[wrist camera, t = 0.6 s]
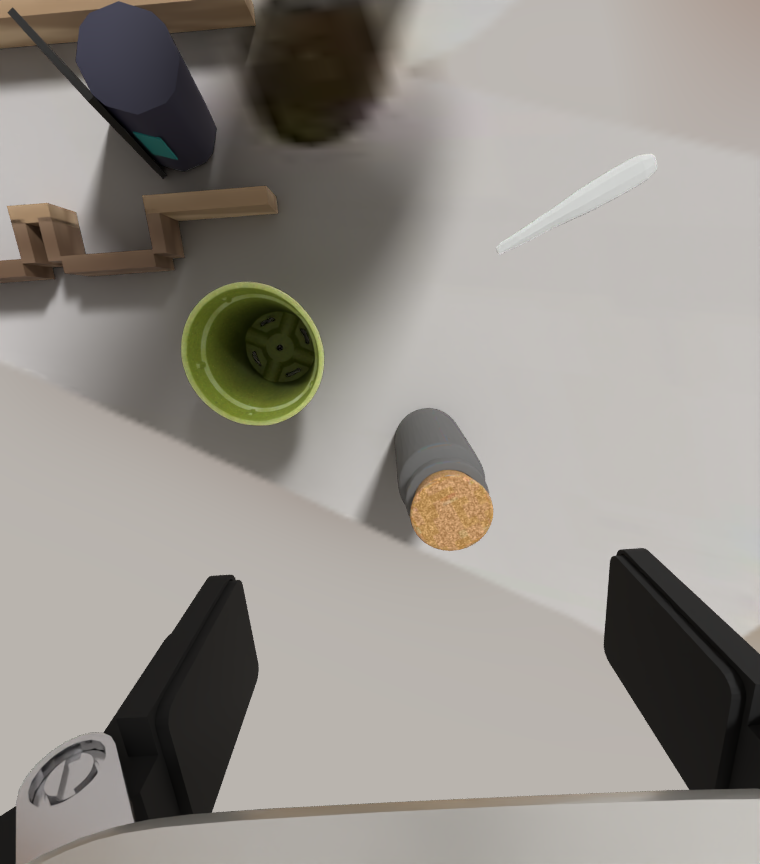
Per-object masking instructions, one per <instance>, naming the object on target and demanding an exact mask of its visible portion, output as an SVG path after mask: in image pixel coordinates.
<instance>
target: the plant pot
mask: <svg viewBox="0 0 760 864" xmlns="http://www.w3.org/2000/svg"><path fill="white" fill-rule="evenodd" d="M271 317H272V318H274V319H275V321H272V322H270V323H267V324H265V325H264V326H262V327H261V322H263V321H264V320H266V319H268V318H271ZM300 329H304V330H305V331H306V333H307V335H308V337H309V341H310V342H309V344H306V341H305V338H304V336H303V334H302V333H301V331H300ZM278 345H282V346H283V350H281V351H279V350H277V346H278ZM253 351H255V352H256V354H257V357H258V359H259V361H260V363H261V364H262V366H260V365H258V364H257V363H256V362H255V360H254V358H253V355H252V353H253ZM181 356H182V362H183V367H184V370H185V373H186V376H187V378H188V380H189V383H190V384H191V386H192V388H193V389H194V390H195V392H196V394H197V395H198V396H199V397H200V399H201V400H202V401H203V402H204V403H205V404H206V405H207V406H209V407H210V408H211V409H212V410H214V411H215V412H216V413H218V414H219V415H221V416H223V417H225V418H227V419H229V420H231V421H234V422H237V423H240V424H245V425H254V426H265V425H272V424H276V423H279V422H282V421H284V420H287V419H289V418H291V417H293V416H294V415H296V414H297V413H299V412H300V411H301V410H302V409H303V408H304V407H305V406H306V405H307V404H308V403H309V402H310V401H311V399H312V398H313V396H314V395H315V393H316V391H317V389H318V387H319V385H320V382H321V379H322V375H323V369H324V351H323V345H322V341H321V338H320V335H319V332H318V330H317V328H316V325H315V324H314V322H313V321H312V319H311V317H310V316H309V315H308V313H307V312H306V311H305V310H304V309H303V308H302V306H301V305H300V304H299V303H297V302H296V301H295V300H294V299H293V298H292V297H290V296H289V295H287V294H286V293H284V292H282V291H281V290H279V289H276V288H274V287H272V286H269V285H265V284H261V283H256V282H237V283H231V284H228V285H225V286H222V287H220V288H217V289H216V290H214V291H212V292H210V293H209V294H207V295H206V296H205V297H204V298H202V299H201V300H200V301H199V302H198V304H197V305H196V306H195V307H194V309H193V310H192V312H191V313H190V315H189V317H188V319H187V321H186V324H185V327H184V330H183V334H182V341H181ZM297 368H300V372H298V373H295V374H294V375H293V376H289V377H288V376H286V373H289V372H292V371H294V370H296V369H297Z"/></svg>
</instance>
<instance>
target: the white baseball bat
mask: <svg viewBox="0 0 760 864" xmlns="http://www.w3.org/2000/svg"><path fill="white" fill-rule="evenodd" d="M656 169H657V161H656V158H655V156H654V155H653V154H642V155H638V156H636V157H633V158H631V159H629V160H628V161H626V162H624V163H622V164H620V165H618V166H616V167H615V168H613V169H611V170H610V171H608V172H607V173H605V174H603V175H602V176H600V177H598V178H597V179H595V180H593V181H592V182H590V183H589V184H587V185H586V186H584V187H582V188H581V189H579V190H578V191H576V192H575V193H573V194H572V195H571V196H569V197H568V198H567V199H565V200H564V201H562V202H561V203H560V204H558V205H557V206H555V207H554V208H552V209H551V210H549V211H548V212H546V213H545V214H543V215H542V216H540V217H539V218H537V219H536V220H534V221H533V222H532V223H530V224H529V225H527V226H526V227H524V228H523V229H521V230H520V231H518V232H517V233H515V234H514V235H512V236H511V237H509V238H508V239H506V240H505V241H503V242H501V243H500V244H499V245H498V246H497V247H496V249H497V252H498V254H499V255H500V254H502V253H505V252H507V251H509V250H511V249H513V248H516V247H518V246H520V245H522V244H524V243H526V242H528V241H530V240H532V239H534V238H536V237H538V236H540V235H541V234H543V233H545V232H547V231H549V230H550V229H552V228H555V227H557V226H559V225H561V224H563V223H565V222H568V221H570V220H572V219H575V218H577V217H579V216H581V215H584V214H586V213H588V212H590V211H592V210H594V209H596V208H598V207H600V206H601V205H603V204H605V203H607V202H609V201H611V200H613V199H615V198H617V197H619V196H620V195H622V194H624V193H626V192H628V191H629V190H631V189H633V188H635V187H636V186H638V185H640V184H641V183H643V182H644V181H646V180H647V179H648V178H649V177H650V176H651V175H652V174H653V173H654V172H655V171H656Z"/></svg>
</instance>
